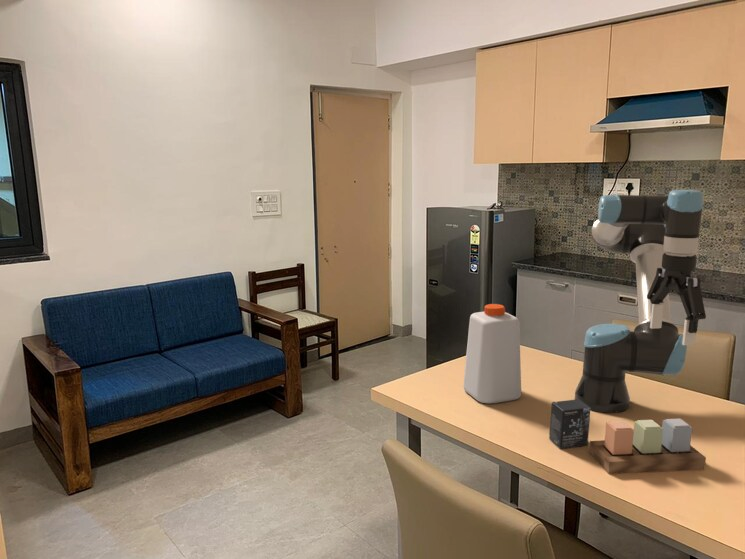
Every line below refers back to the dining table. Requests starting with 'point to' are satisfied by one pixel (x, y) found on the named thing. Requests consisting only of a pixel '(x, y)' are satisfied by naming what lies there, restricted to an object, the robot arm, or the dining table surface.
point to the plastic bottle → (493, 356)
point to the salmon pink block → (618, 437)
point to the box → (569, 423)
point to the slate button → (676, 435)
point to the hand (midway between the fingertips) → (671, 336)
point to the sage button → (647, 436)
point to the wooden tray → (646, 460)
